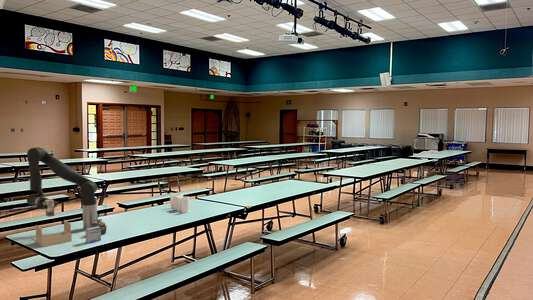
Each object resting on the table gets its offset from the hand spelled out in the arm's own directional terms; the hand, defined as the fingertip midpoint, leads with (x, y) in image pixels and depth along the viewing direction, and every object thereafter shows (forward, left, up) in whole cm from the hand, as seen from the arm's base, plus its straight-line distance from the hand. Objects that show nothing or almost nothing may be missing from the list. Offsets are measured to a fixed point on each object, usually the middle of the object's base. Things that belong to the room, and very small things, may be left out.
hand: (50, 206), depth 251 cm
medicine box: (-18, +21, -22) cm, 35 cm away
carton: (0, -2, -22) cm, 22 cm away
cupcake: (-27, +7, -22) cm, 36 cm away
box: (0, -2, -6) cm, 6 cm away
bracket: (-105, -17, -22) cm, 108 cm away
